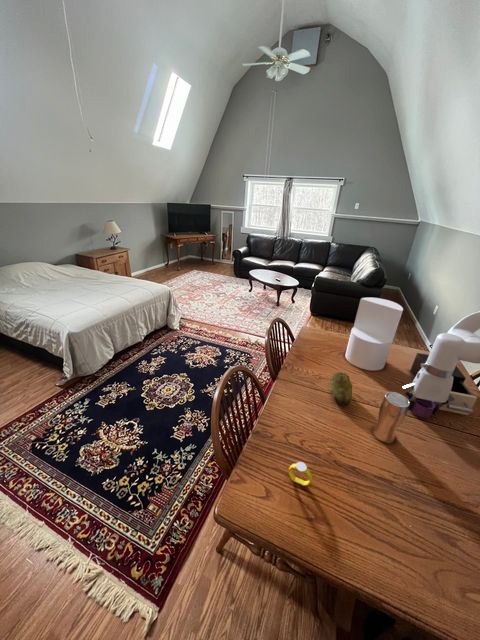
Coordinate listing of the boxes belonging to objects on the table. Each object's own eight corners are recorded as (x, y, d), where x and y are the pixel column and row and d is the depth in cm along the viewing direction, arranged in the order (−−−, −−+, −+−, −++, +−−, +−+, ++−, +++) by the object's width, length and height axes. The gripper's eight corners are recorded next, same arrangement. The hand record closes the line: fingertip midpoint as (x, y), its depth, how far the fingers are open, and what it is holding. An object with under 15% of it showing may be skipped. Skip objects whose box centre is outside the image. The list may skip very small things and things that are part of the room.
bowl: (427, 407, 99) (431, 397, 97) (433, 420, 93) (438, 410, 91) (406, 403, 100) (410, 393, 98) (411, 415, 94) (416, 405, 92)
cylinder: (355, 346, 137) (369, 294, 125) (390, 361, 126) (409, 306, 114) (338, 358, 126) (351, 303, 115) (375, 375, 115) (393, 316, 103)
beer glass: (391, 448, 82) (407, 411, 75) (368, 435, 86) (381, 398, 79) (398, 435, 86) (413, 399, 80) (375, 423, 90) (388, 388, 84)
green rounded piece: (325, 402, 98) (329, 385, 95) (330, 383, 109) (334, 367, 106) (348, 410, 95) (353, 393, 92) (351, 389, 106) (356, 373, 102)
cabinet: (456, 398, 104) (466, 378, 100) (419, 391, 107) (428, 371, 103) (442, 376, 116) (450, 358, 112) (410, 371, 119) (417, 352, 115)
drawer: (474, 424, 91) (484, 407, 87) (436, 416, 93) (444, 399, 90) (452, 392, 106) (460, 376, 103) (420, 385, 109) (427, 370, 105)
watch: (311, 482, 71) (314, 467, 68) (308, 491, 68) (312, 476, 66) (289, 471, 73) (292, 457, 71) (286, 480, 71) (288, 465, 68)
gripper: (412, 370, 87) (396, 411, 95) (474, 381, 83) (452, 423, 91) (406, 358, 94) (391, 397, 102) (463, 368, 90) (443, 408, 98)
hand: (420, 409), depth 96 cm, fingers closed on bowl, 6 cm apart
